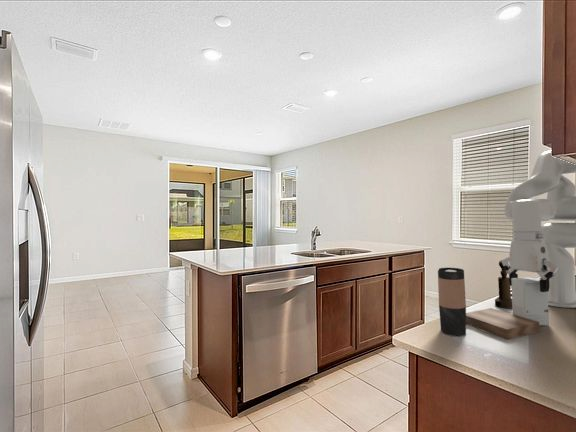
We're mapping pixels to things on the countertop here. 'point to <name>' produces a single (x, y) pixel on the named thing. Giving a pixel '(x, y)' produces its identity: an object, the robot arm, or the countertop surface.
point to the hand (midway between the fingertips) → (528, 288)
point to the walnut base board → (501, 323)
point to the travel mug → (452, 301)
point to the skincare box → (529, 300)
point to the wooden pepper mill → (504, 290)
